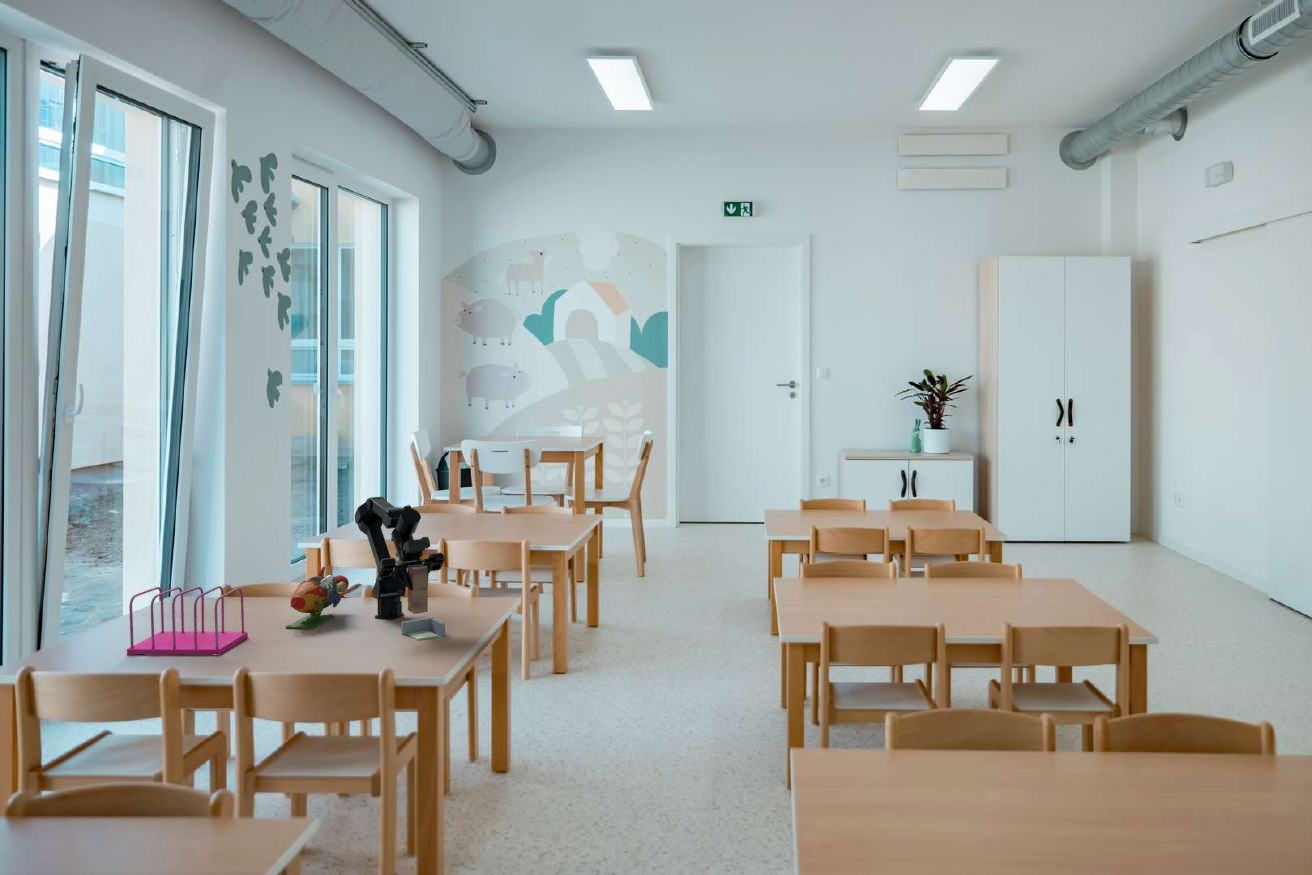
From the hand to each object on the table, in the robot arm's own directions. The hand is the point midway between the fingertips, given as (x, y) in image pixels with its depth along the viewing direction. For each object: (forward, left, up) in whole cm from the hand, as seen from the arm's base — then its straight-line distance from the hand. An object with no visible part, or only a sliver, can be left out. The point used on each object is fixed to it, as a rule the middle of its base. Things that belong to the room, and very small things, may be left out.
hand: (419, 588), depth 275 cm
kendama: (-55, +32, -14) cm, 65 cm away
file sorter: (-54, -30, -14) cm, 63 cm away
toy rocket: (-38, +3, -14) cm, 41 cm away
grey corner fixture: (+1, 0, -13) cm, 13 cm away
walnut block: (-1, +1, -7) cm, 7 cm away
